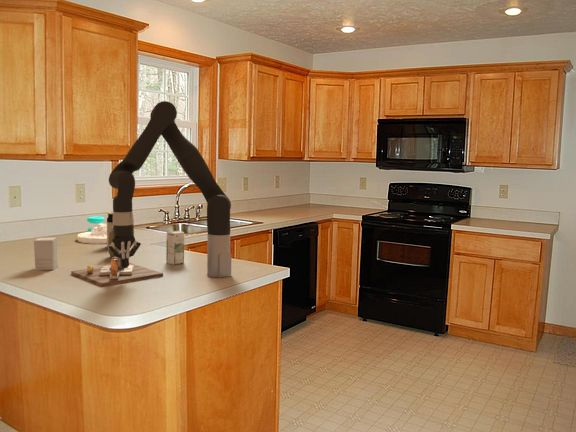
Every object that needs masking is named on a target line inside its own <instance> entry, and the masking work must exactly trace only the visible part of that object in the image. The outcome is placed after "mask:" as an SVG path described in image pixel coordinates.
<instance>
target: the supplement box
mask: <svg viewBox="0 0 576 432" xmlns="http://www.w3.org/2000/svg"><path fill="white" fill-rule="evenodd" d="M57 244H58V237H38V238H36V239H35V240H33V247H34V268H35V270H34V271H48V270H49V271H52V270H53V271H54V270H55V269H56V268H57V267H58V266H59V264H58V245H57Z"/></svg>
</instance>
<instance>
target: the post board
mask: <svg viewBox="0 0 576 432" xmlns="http://www.w3.org/2000/svg"><path fill="white" fill-rule="evenodd" d="M111 259H118V270H122V267H121V264H120V258H117V257H111ZM129 265H134V269H133V272H132V275H120V276H119V279H110V275H100V271H101V269H102V267H103V266H100V267H98V266H97V267H93V274H87V268H86V269H79V270H72V271H70V274H71V275H72V276H74V277H77V278H80V279H83V280H84V281H87V282H90V283H93V284H94V285H97V286H100V287H101V288H102V287H108V286H113V285H120V284H126V283H130V282H137V281H138V282H139V281H144V280H147V279H156V278H160V277H163V276H164V273H163V272H160V271H157V270H155V269H152V268H148V267H144V266H141V265H138V264H135V263H131V262H129Z"/></svg>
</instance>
